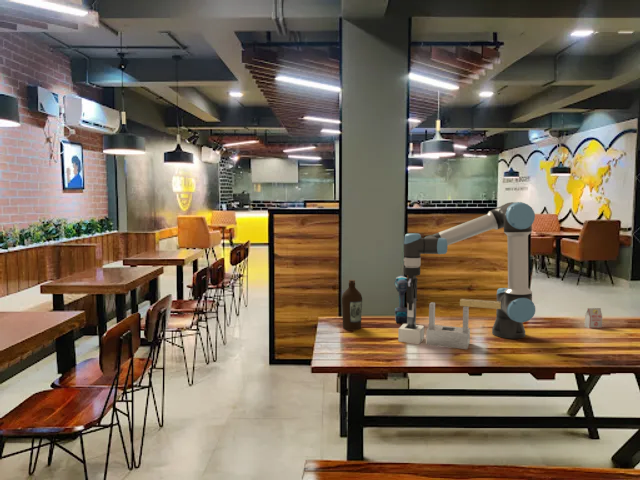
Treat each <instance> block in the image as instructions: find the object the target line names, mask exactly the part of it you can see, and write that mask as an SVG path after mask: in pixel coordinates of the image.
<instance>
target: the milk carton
mask: <svg viewBox="0 0 640 480" xmlns="http://www.w3.org/2000/svg"><path fill="white" fill-rule="evenodd" d="M584 316H585V318H584V327H585V328H587V329H602V328H603V313H602V309H601V307H588V308H587V310H586V313H585V315H584Z"/></svg>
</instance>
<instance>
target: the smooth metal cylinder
mask: <svg viewBox="0 0 640 480" xmlns="http://www.w3.org/2000/svg"><path fill="white" fill-rule="evenodd" d="M413 303H414V317H408V303H406V305H407V307H406V308H407V323H406V324H407V328H408V329H416V325H417V301H416V298H413Z"/></svg>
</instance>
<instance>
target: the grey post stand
mask: <svg viewBox="0 0 640 480" xmlns="http://www.w3.org/2000/svg"><path fill="white" fill-rule="evenodd" d="M428 305H429V306H428V327H427V328H426V337H425V338H426V339H425V340H426V341H425V344H426V346H427V345H428V346H435V347H444V348H452V349H460V350H461V349H462V350H468V349H469V346H470V343H471V342H470V341H471V340H470V339H471V328H469V318H470V317H469V316H470V315H469V312H470V311H469V310H470V309H469V308H470V307H468V306H462V327H460V326H459V327H458V326H450V325H440V324H436V302H433V301H432V302H430V303H429V304H428Z"/></svg>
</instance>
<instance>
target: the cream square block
mask: <svg viewBox="0 0 640 480" xmlns="http://www.w3.org/2000/svg"><path fill="white" fill-rule="evenodd" d="M397 330H398V333H397V334H398V337H397V339H398V343H399V342H401V343H410V344H418V345H420V344H421V343H422V342H423V340H424V339H425V326H424V325H420V324H416V329H408V328H407V323H402V325H401V326H399V327H398V329H397Z"/></svg>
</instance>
